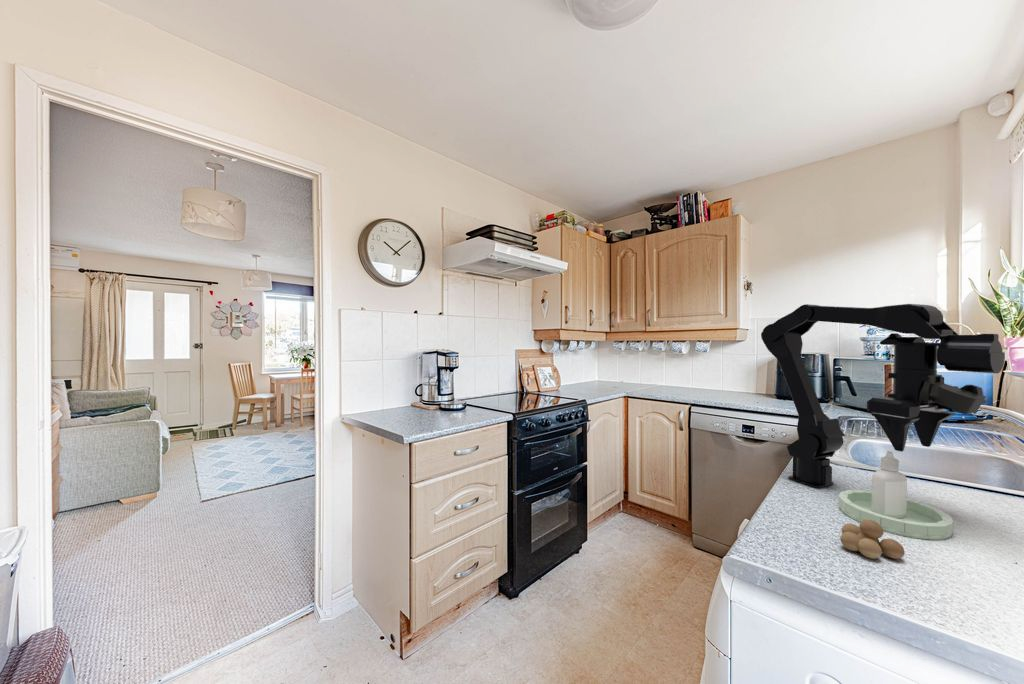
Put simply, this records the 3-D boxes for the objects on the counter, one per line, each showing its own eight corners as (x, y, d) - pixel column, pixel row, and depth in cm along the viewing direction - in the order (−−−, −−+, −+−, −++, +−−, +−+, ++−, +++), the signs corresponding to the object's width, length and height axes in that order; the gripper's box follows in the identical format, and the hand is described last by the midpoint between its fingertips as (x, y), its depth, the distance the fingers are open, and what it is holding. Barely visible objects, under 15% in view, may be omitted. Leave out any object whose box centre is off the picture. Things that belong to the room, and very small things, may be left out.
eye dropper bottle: (915, 522, 68) (916, 456, 68) (876, 517, 70) (877, 453, 70) (900, 512, 73) (901, 450, 72) (864, 507, 74) (865, 447, 74)
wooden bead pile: (825, 542, 63) (826, 513, 63) (847, 535, 66) (847, 507, 65) (887, 569, 56) (888, 537, 56) (908, 560, 58) (909, 528, 58)
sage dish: (822, 508, 75) (823, 497, 75) (863, 496, 81) (864, 485, 81) (927, 547, 62) (928, 533, 62) (968, 529, 68) (968, 516, 68)
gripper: (948, 374, 62) (946, 467, 62) (1003, 371, 68) (1001, 456, 69) (865, 368, 72) (864, 448, 73) (919, 366, 79) (918, 440, 79)
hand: (912, 448), depth 73 cm, fingers open, 9 cm apart
